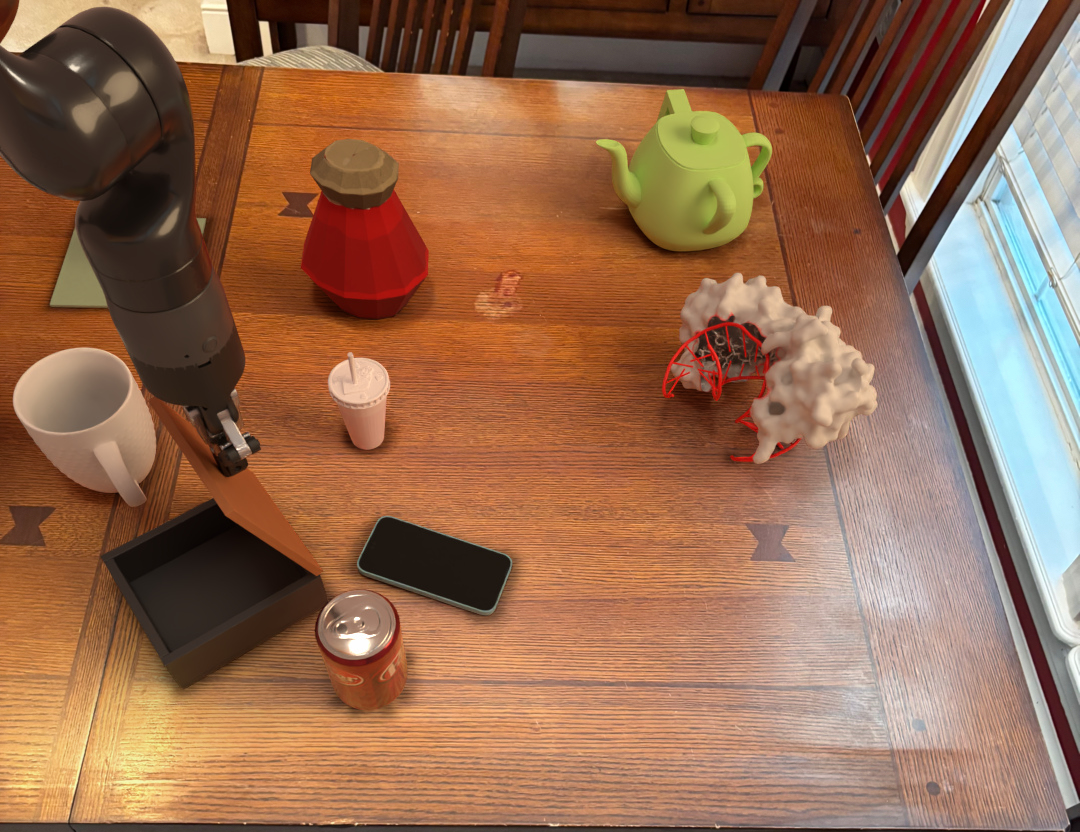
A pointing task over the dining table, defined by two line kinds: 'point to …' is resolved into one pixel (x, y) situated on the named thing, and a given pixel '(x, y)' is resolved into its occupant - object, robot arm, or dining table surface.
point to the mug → (89, 420)
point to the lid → (236, 491)
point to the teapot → (689, 177)
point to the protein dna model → (772, 363)
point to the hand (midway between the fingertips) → (233, 467)
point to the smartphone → (435, 565)
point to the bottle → (362, 233)
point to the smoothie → (361, 399)
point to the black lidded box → (210, 590)
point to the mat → (82, 279)
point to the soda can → (362, 648)
